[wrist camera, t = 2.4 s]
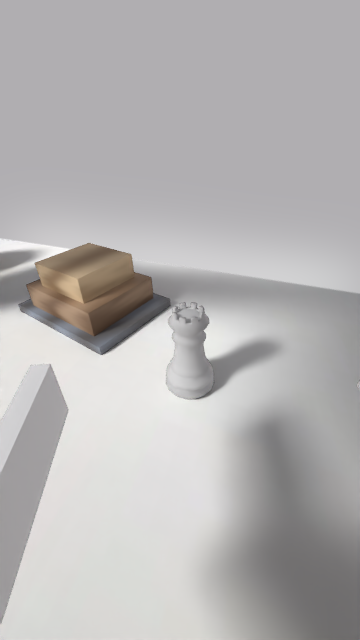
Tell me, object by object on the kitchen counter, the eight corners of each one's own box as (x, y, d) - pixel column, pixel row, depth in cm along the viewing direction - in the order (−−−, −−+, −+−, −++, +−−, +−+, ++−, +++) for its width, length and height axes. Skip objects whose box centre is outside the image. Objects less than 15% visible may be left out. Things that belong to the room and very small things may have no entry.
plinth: (21, 310, 38) (0, 261, 34) (91, 277, 46) (82, 234, 42) (101, 355, 30) (86, 297, 26) (170, 305, 38) (167, 255, 34)
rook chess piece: (183, 360, 29) (181, 291, 25) (222, 378, 27) (227, 305, 23) (156, 388, 26) (147, 315, 22) (197, 410, 24) (197, 334, 20)
